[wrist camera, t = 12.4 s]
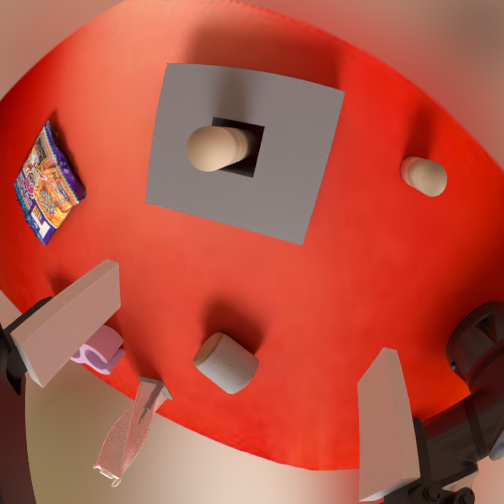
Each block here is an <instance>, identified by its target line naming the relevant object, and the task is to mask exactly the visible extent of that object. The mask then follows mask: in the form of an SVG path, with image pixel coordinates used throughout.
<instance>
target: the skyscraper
mask: <svg viewBox="0 0 504 504" xmlns="http://www.w3.org/2000/svg"><path fill="white" fill-rule="evenodd" d="M138 377H139V379H140V380H141V381H140V385H139V388H138V391H137V395H136V398H135V402H134V405H133V406H132V407H131V408H130V409H128V410H127V411H126V412H125V413H124V414H123V415H122V416H121V417H120V418H119V419H118V420H117V421H116V423H115V424H114V425H113V427H112V428H111V429H110V431H109V433H108V434H107V436H106V438H105V441H104V443H103V445H102V448H101V451H100V454H99V457H98V460H97V463H96V464H95V465H94V466H93V468H97V467H98V468H99V469H101V471H100V473H102V474H103V475H105V476H107V477H108V478H110V479H113V477H114V478H115V479H114V481H113V483H112V485H111V486H112V487H116V486H117V485H118V484H119V483H120V481H121V480H122V474H123V472H124V471H125V470H126V469H127V468H128V467H129V465H130V464H131V463H132V462H133V460H134V459H135V457H136V456H137V454H138V452H139V450H140V449H141V447H142V445H143V443H144V440H145V438H146V435H147V433H148V430H149V426H150V423H151V420H152V416H153V413H154V412H155V411H156V410H157V409H158V408H159V406H160V405H161V404H162V403H163V402H164V401H165V400H166V398H167V399H172V400H173V398H172V396H171V394H170V392H169V391H168V389H167V387H166V385H165V383H164V382H163V381H161V380H156V379H151V378H146V377H141V376H138ZM117 479H119V480H118V482H117V483H116V484H115V482H116V481H117ZM114 484H115V485H114Z"/></svg>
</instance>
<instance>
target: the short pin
mask: <svg viewBox="0 0 504 504" xmlns="http://www.w3.org/2000/svg"><path fill="white" fill-rule="evenodd" d="M400 175H401V178H402V179H403V181H404V182H405V183H407V184H409V185H410V186H412V187H414V188H416V189H417V190H419V191H421V192H422V193H424V194H426V195H428V196H437V195H439V194H441V193H442V192H443V191H444V189H445V187H446V184H447V175H446V172H445V170H444V168H443V167H442V166H441V165H440V164H439V163H437V162H434V161H430V160H427V159H423V158H419V157H415V156H408V157H406V158H405V159H404V160H403V161H402V162H401V165H400Z"/></svg>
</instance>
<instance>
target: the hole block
mask: <svg viewBox="0 0 504 504" xmlns="http://www.w3.org/2000/svg"><path fill="white" fill-rule="evenodd" d="M344 94H345V92H344V91H341V90H338V89H335V88H331V87H328V86H324V85H321V84H317V83H313V82H309V81H305V80H301V79H297V78H292V77H288V76H283V75H278V74H273V73H267V72H261V71H255V70H249V69H242V68H234V67H225V66H215V65H202V64H182V63H167V67H166V71H165V76H164V80H163V84H162V89H161V94H160V99H159V104H158V109H157V115H156V121H155V127H154V133H153V139H152V146H151V154H150V162H149V170H148V179H147V189H146V201H145V203H148V204H152V205H156V206H160V207H164V208H168V209H171V210H175V211H179V212H183V213H187V214H190V215H194V216H198V217H202V218H205V219H209V220H213V221H217V222H220V223H224V224H228V225H231V226H235V227H238V228H242V229H246V230H249V231H253V232H256V233H260V234H264V235H267V236H271V237H274V238H278V239H281V240H285V241H288V242H292V243H295V244H299V245H302V244H303V241H304V238H305V235H306V232H307V228H308V225H309V222H310V219H311V215H312V212H313V209H314V206H315V202H316V199H317V196H318V192H319V189H320V185H321V182H322V178H323V175H324V171H325V168H326V164H327V161H328V157H329V153H330V150H331V146H332V142H333V138H334V134H335V131H336V127H337V123H338V119H339V115H340V111H341V107H342V103H343V99H344ZM230 120H235V121H240V122H245V123H250V124H255V125H260V126H265V129H264V133H263V138H262V142H261V146H260V151H259V155H258V159H257V164H256V168H251V167H247V166H243V165H238V164H234V163H233V164H230V165H228V166H225V167H222V168H220V169H217V170H215V171H210V172H206V171H201V170H199V169H197V168H196V167H194V166H193V165H192V164H191V162H190V161H189V159H188V156H187V152H186V146H187V142H188V139H189V137H190V136H191V134H192V133H193V132H194V131H195V130H197V129H199V128H201V127H204V126H216V127H228V125H229V121H230Z"/></svg>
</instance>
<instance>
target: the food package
mask: <svg viewBox="0 0 504 504" xmlns="http://www.w3.org/2000/svg"><path fill="white" fill-rule="evenodd" d="M14 186H15V191H16V193H17V194H16V197H17V198H18V199H17V201H19V204H20V206H21V207H22V211H23V212H24V214H25V216H24V217H25V220H26V223H28V224H29V226H30V228H31V229H32V231H33V232H34V233H35V236H36V237H37V238H38V239H39V240H40V241H41V242H42V243H43V244H44V245H45V246H46V245H47V243H48V241H49V240H50V238H51V237H52V235H53V234H54V232H55V231H56V229H57V228H58V227H59V226H60V224H61V223H62V221H63V220H64V219H65V217H66V216H67V215H68V213H69V212H70V210H71V209H72V208H73V206H75V205H77V204H79V203H80V201H81V200H82V199H84V198H85V196H86V193H87V192H86V188H85V186H84V185H83V184H82V182H81V181H80V179H79V177H78V176H77V174H76V173H75V172H74V171H73V168H72V165H71V163H70V161H69V159H68V158H67V156H66V155H65V154H64V153H63V151H62V150H61V147H60V145H59V142H58V133H57V132H55V131H54V129H53V126H52V124H51V121H50V120H49V121H48V122H47V123H46V124H45V125H44V127H43V129H42V131H41V132H40V134H39V136H38V138H37V140H36V142H35V144H34V146H33V149H32V150H31V152H30V154H29V156H28V158H27V159H26V162H25V163H24V165H23V167H22V169H21V171H20V172H19V174H18V177H17V178H16V180H15V185H14Z"/></svg>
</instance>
